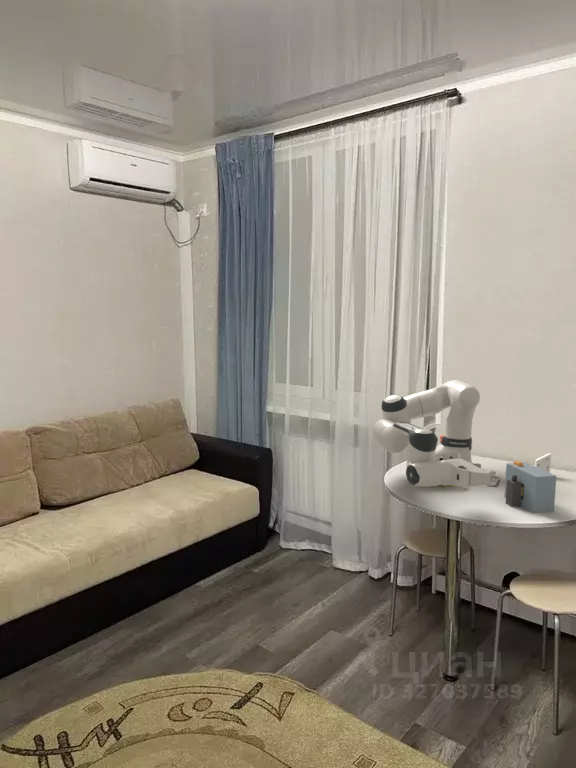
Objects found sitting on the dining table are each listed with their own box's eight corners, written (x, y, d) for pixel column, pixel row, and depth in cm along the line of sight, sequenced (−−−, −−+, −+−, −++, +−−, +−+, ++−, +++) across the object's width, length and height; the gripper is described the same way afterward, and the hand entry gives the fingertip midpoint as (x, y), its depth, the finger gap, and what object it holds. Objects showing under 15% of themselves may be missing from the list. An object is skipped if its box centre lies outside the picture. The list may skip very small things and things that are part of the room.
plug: (511, 506, 213) (513, 477, 211) (505, 503, 216) (507, 474, 215) (529, 505, 215) (531, 476, 213) (523, 502, 218) (525, 473, 217)
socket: (534, 512, 207) (536, 473, 205) (504, 496, 224) (506, 460, 222) (553, 511, 209) (556, 472, 207) (523, 495, 226) (525, 459, 224)
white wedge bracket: (560, 471, 250) (551, 453, 250) (538, 482, 252) (529, 464, 251) (557, 469, 254) (548, 451, 253) (535, 479, 256) (526, 462, 255)
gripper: (437, 472, 217) (471, 469, 221) (466, 489, 198) (503, 486, 201) (438, 455, 216) (472, 453, 220) (467, 471, 197) (504, 468, 200)
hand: (487, 469), depth 210 cm, fingers open, 8 cm apart
